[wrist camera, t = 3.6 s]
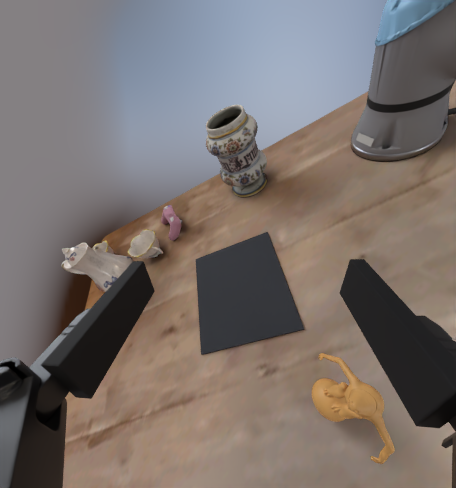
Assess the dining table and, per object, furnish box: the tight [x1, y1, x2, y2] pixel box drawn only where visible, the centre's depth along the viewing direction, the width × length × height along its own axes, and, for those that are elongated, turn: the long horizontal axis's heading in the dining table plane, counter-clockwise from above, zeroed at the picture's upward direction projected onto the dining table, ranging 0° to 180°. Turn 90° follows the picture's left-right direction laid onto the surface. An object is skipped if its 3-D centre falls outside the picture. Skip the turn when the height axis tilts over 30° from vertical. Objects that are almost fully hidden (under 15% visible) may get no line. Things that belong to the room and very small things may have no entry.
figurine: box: [312, 353, 395, 464], centre depth 19 cm, size 8×6×12 cm
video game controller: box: [161, 205, 182, 240], centre depth 53 cm, size 10×5×7 cm, turn 31°
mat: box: [196, 232, 304, 355], centre depth 37 cm, size 18×20×1 cm
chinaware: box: [62, 229, 163, 292], centre depth 48 cm, size 28×17×17 cm, turn 92°
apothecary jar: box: [206, 105, 267, 197], centre depth 45 cm, size 12×12×18 cm
